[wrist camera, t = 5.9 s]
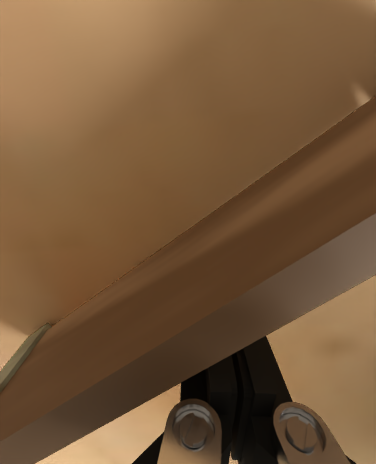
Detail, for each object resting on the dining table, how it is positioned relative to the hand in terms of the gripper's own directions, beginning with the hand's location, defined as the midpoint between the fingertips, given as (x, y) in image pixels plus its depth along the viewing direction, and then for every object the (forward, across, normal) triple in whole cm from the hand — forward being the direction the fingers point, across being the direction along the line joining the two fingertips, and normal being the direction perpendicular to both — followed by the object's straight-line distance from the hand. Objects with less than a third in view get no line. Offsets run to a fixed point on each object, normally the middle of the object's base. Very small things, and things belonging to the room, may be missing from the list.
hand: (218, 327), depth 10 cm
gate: (+3, +2, -3) cm, 4 cm away
